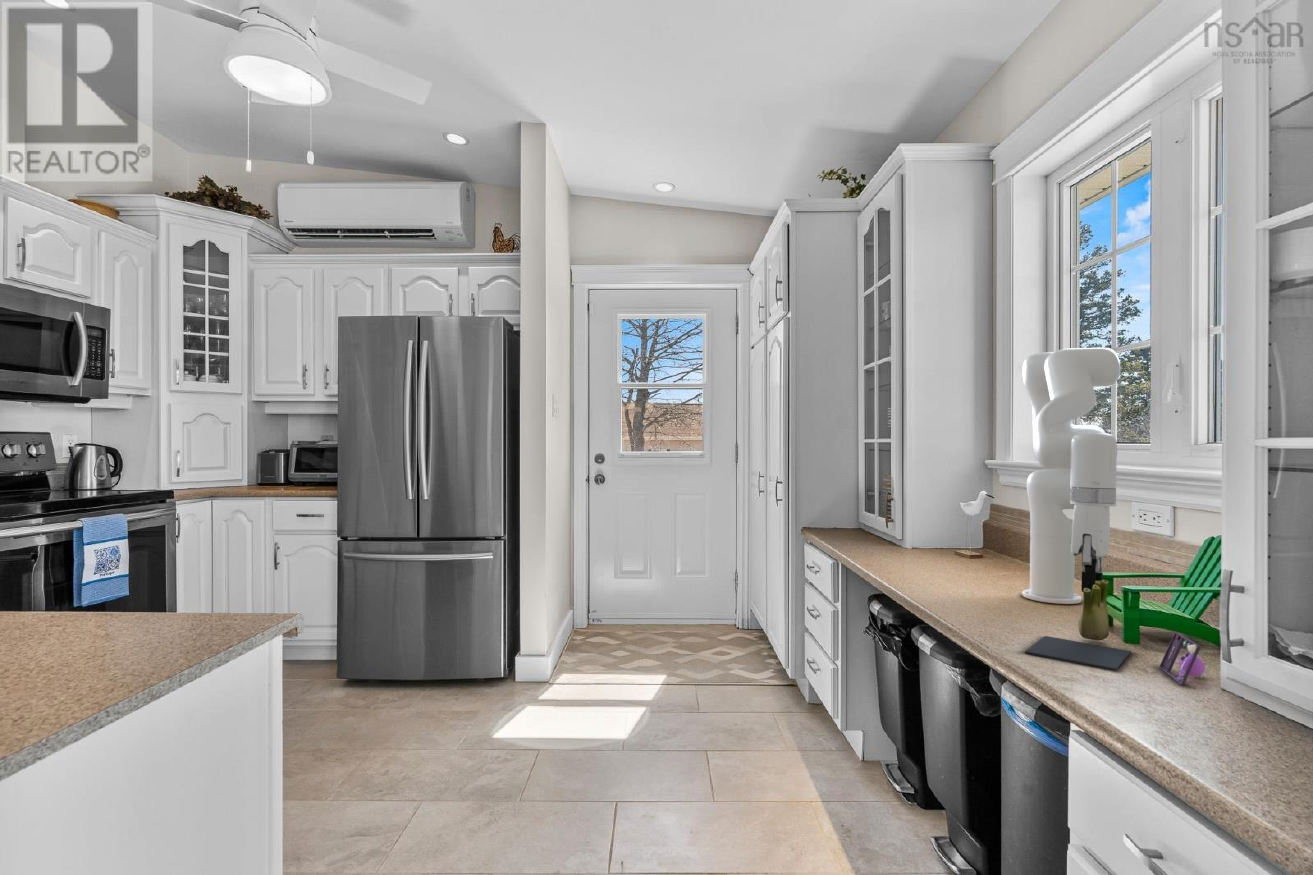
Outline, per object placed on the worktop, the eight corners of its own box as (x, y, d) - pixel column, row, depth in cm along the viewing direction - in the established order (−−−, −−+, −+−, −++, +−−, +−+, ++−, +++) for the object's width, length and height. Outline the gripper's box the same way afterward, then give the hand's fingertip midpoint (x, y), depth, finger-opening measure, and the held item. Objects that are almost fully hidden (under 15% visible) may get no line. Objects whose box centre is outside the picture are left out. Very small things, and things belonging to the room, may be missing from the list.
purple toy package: (1170, 629, 119) (1193, 643, 110) (1204, 642, 117) (1230, 658, 109) (1154, 665, 120) (1175, 682, 111) (1188, 678, 118) (1212, 697, 109)
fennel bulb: (1082, 644, 134) (1085, 592, 130) (1070, 628, 139) (1073, 577, 134) (1115, 642, 133) (1119, 589, 129) (1102, 626, 138) (1106, 574, 133)
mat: (1045, 637, 137) (1045, 635, 137) (1131, 653, 128) (1131, 650, 128) (1024, 653, 127) (1024, 651, 127) (1116, 671, 117) (1116, 668, 117)
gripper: (1079, 494, 144) (1078, 584, 144) (1061, 497, 133) (1060, 595, 132) (1122, 496, 139) (1122, 590, 138) (1108, 500, 128) (1107, 602, 127)
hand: (1091, 592), depth 135 cm, fingers closed
